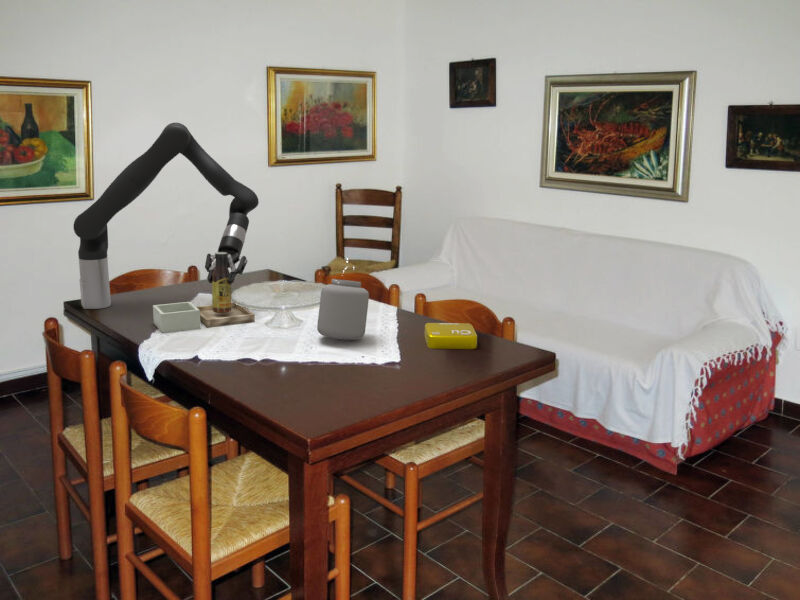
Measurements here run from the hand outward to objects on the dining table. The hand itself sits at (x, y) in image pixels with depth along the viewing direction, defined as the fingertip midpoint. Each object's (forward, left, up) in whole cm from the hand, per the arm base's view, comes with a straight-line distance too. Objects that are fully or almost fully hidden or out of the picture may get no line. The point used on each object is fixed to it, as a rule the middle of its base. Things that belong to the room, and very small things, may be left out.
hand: (219, 282), depth 251 cm
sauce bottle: (+1, +1, -11) cm, 11 cm away
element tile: (+56, -54, -13) cm, 79 cm away
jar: (+28, -37, -13) cm, 48 cm away
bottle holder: (-15, -2, -13) cm, 20 cm away
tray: (+1, +1, -13) cm, 13 cm away
